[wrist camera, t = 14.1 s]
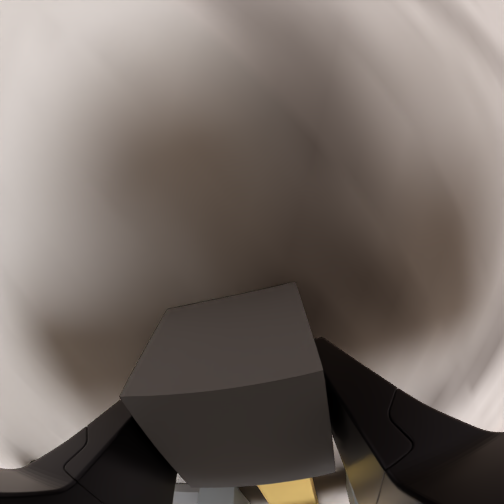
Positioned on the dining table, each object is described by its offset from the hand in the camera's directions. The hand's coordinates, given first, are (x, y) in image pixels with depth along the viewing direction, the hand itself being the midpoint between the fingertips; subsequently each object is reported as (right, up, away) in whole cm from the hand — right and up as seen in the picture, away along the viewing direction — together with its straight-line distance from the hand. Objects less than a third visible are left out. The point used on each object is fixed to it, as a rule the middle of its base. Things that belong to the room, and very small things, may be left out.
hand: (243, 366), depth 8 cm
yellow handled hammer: (+2, -8, +4) cm, 9 cm away
